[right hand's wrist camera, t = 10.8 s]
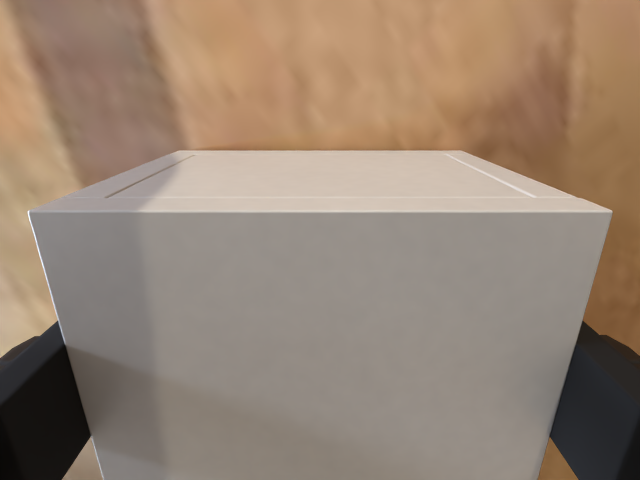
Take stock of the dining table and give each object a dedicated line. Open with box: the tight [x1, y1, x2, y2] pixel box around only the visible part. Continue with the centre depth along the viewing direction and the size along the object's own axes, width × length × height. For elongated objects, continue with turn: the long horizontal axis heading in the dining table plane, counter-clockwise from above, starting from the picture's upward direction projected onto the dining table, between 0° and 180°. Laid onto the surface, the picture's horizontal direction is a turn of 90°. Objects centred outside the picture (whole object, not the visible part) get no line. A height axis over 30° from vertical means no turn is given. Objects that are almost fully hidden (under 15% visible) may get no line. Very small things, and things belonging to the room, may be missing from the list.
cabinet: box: [28, 151, 613, 480], centre depth 14 cm, size 17×11×8 cm
